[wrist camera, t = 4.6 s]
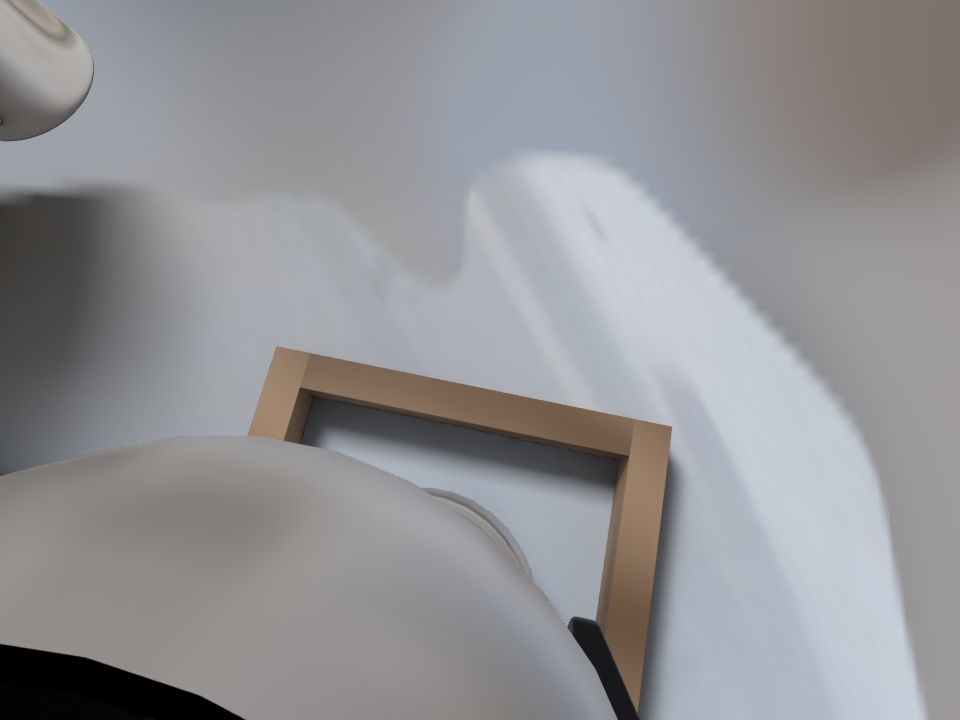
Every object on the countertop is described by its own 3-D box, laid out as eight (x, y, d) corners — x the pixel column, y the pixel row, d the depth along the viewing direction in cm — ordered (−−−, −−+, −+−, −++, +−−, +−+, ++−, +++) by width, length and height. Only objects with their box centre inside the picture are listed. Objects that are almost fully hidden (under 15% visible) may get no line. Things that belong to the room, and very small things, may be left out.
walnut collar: (599, 892, 15) (611, 931, 14) (161, 774, 16) (129, 800, 15) (658, 433, 19) (672, 426, 17) (292, 358, 20) (276, 346, 18)
